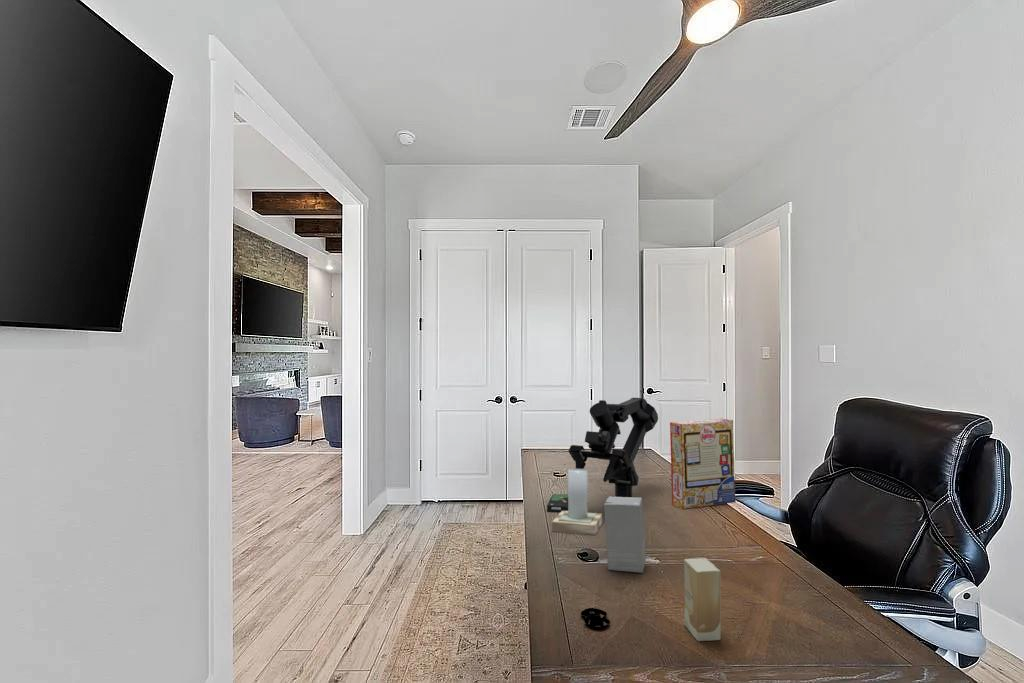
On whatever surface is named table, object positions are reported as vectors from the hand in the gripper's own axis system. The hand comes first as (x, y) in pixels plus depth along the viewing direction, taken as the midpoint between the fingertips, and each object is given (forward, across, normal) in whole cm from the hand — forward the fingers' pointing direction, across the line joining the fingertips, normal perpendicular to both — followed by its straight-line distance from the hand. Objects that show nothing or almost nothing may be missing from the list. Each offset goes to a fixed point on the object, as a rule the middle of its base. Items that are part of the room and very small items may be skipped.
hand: (590, 479), depth 171 cm
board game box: (-16, +22, +34) cm, 44 cm away
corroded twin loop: (+48, +30, -31) cm, 65 cm away
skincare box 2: (+44, +48, -27) cm, 70 cm away
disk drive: (+3, -14, +15) cm, 21 cm away
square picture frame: (+14, 0, +3) cm, 14 cm away
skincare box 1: (+29, +24, -12) cm, 40 cm away
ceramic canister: (+12, 0, +1) cm, 12 cm away
